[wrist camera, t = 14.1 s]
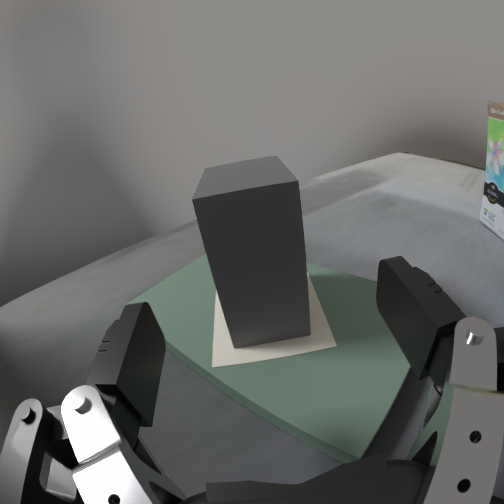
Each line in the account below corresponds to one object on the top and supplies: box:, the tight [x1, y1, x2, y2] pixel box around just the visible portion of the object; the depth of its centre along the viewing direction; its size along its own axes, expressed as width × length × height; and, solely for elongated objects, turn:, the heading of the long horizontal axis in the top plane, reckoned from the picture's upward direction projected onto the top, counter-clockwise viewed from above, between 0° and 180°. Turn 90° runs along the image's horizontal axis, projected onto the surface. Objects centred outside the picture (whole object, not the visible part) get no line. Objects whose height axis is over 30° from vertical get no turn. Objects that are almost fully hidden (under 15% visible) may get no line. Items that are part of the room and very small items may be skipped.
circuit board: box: [125, 253, 411, 463], centre depth 19 cm, size 20×12×4 cm, turn 49°
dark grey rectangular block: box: [192, 156, 311, 348], centre depth 17 cm, size 6×4×9 cm
